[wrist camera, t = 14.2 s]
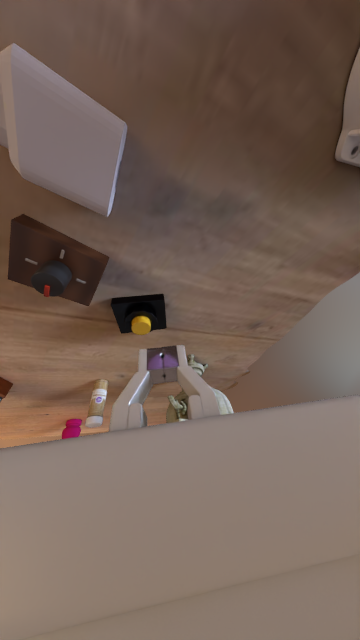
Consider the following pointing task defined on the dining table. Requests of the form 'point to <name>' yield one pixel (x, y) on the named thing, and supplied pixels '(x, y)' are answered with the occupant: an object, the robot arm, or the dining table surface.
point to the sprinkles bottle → (97, 404)
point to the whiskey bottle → (4, 388)
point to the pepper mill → (72, 429)
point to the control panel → (53, 258)
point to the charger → (58, 132)
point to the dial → (51, 278)
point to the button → (141, 325)
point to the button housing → (139, 311)
